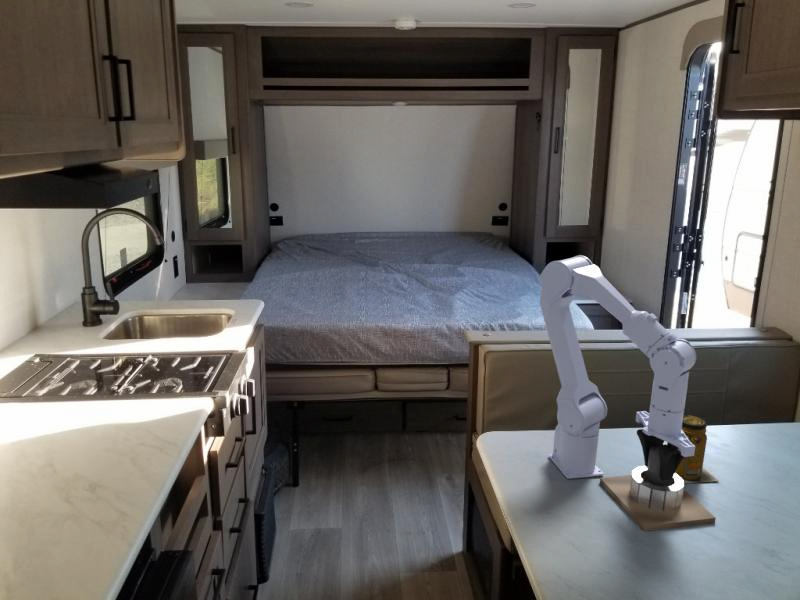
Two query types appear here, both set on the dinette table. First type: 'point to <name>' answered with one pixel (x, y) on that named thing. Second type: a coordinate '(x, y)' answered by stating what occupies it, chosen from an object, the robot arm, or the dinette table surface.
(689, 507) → the walnut board
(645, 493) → the white faceted ring
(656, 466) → the dark rounded capsule
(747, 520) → the dinette table surface
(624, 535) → the dinette table surface
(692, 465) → the condiment
